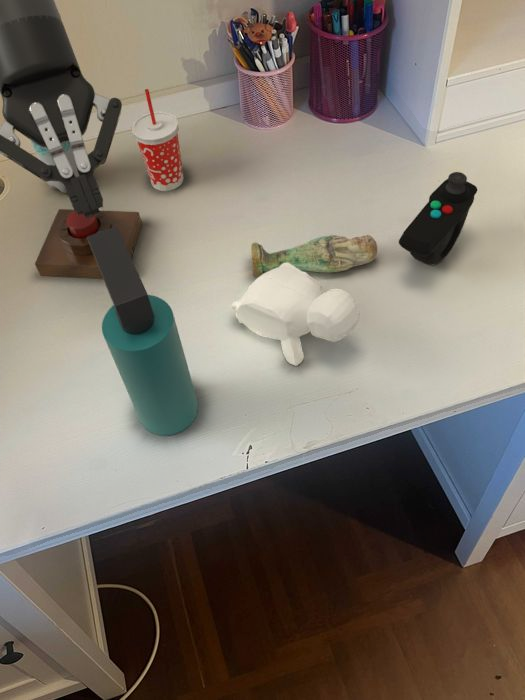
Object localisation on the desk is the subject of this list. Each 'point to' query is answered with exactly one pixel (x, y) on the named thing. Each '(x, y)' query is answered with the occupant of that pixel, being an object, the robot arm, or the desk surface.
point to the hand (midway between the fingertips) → (93, 215)
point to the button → (82, 225)
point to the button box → (82, 244)
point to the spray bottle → (144, 341)
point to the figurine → (318, 255)
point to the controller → (440, 220)
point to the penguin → (295, 310)
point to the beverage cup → (159, 147)
